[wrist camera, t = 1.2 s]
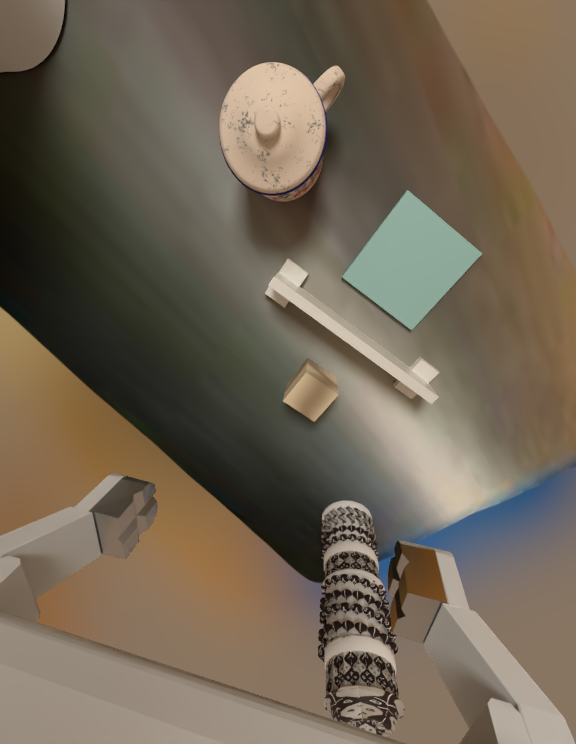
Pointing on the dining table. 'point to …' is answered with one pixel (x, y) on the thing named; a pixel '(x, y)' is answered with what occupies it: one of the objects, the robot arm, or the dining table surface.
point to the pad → (410, 261)
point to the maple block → (311, 390)
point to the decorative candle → (356, 624)
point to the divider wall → (351, 333)
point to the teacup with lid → (277, 128)
